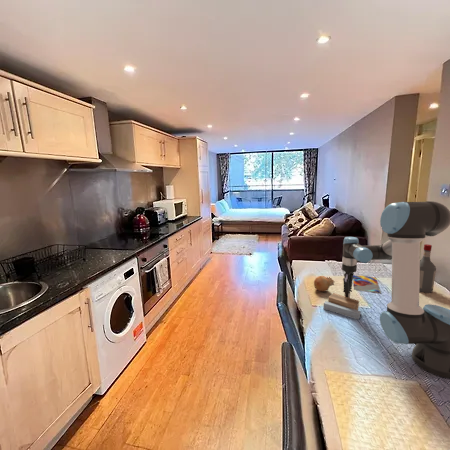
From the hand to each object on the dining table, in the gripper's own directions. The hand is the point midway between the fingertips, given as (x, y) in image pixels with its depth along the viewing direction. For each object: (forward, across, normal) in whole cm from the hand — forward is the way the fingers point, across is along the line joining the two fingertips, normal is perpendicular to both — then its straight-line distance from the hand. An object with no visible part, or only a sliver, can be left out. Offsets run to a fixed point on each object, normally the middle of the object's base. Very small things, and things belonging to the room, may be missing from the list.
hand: (346, 302), depth 144 cm
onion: (+2, +9, +18) cm, 20 cm away
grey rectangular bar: (+1, -12, 0) cm, 12 cm away
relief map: (+2, +37, -3) cm, 37 cm away
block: (+2, -6, +1) cm, 6 cm away
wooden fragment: (+2, +22, +20) cm, 30 cm away
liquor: (+2, +48, -33) cm, 58 cm away
